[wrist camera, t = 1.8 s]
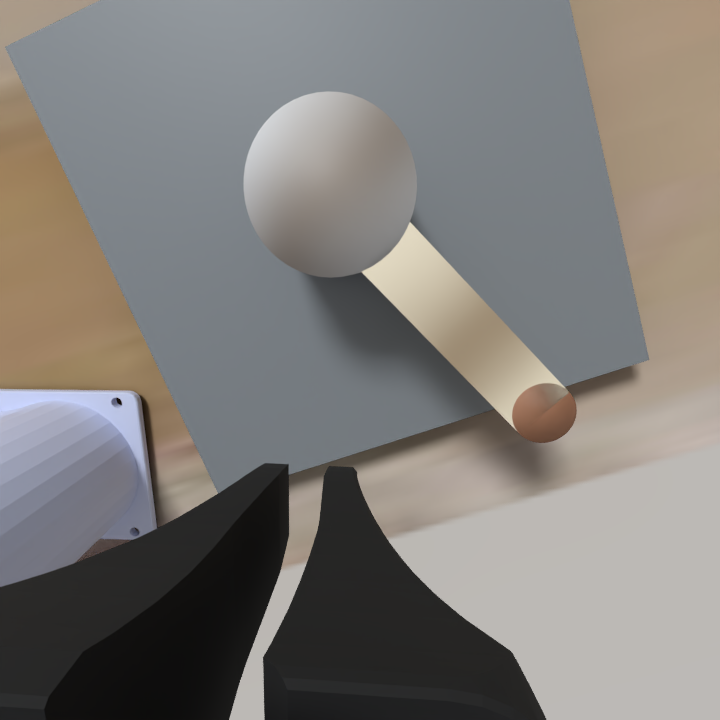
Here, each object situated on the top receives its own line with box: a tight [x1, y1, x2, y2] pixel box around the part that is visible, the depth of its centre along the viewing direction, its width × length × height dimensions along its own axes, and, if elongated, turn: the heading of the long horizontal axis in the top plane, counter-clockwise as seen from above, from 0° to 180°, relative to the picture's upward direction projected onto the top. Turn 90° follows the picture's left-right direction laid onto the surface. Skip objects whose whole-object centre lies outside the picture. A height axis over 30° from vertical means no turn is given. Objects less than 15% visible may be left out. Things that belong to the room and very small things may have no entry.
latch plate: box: [5, 0, 649, 493], centre depth 17 cm, size 20×20×2 cm
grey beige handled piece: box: [244, 91, 577, 443], centre depth 14 cm, size 13×5×4 cm, turn 45°
